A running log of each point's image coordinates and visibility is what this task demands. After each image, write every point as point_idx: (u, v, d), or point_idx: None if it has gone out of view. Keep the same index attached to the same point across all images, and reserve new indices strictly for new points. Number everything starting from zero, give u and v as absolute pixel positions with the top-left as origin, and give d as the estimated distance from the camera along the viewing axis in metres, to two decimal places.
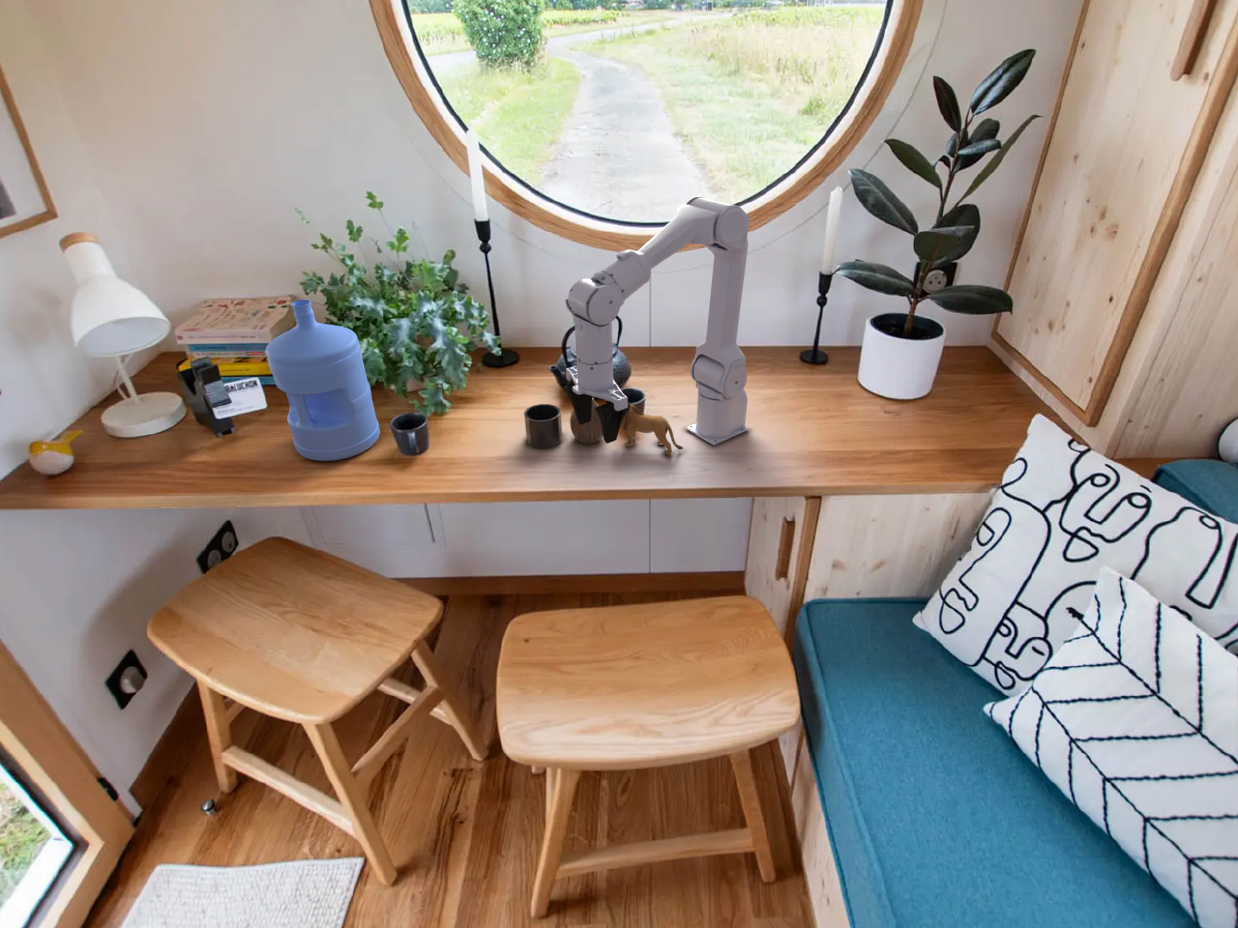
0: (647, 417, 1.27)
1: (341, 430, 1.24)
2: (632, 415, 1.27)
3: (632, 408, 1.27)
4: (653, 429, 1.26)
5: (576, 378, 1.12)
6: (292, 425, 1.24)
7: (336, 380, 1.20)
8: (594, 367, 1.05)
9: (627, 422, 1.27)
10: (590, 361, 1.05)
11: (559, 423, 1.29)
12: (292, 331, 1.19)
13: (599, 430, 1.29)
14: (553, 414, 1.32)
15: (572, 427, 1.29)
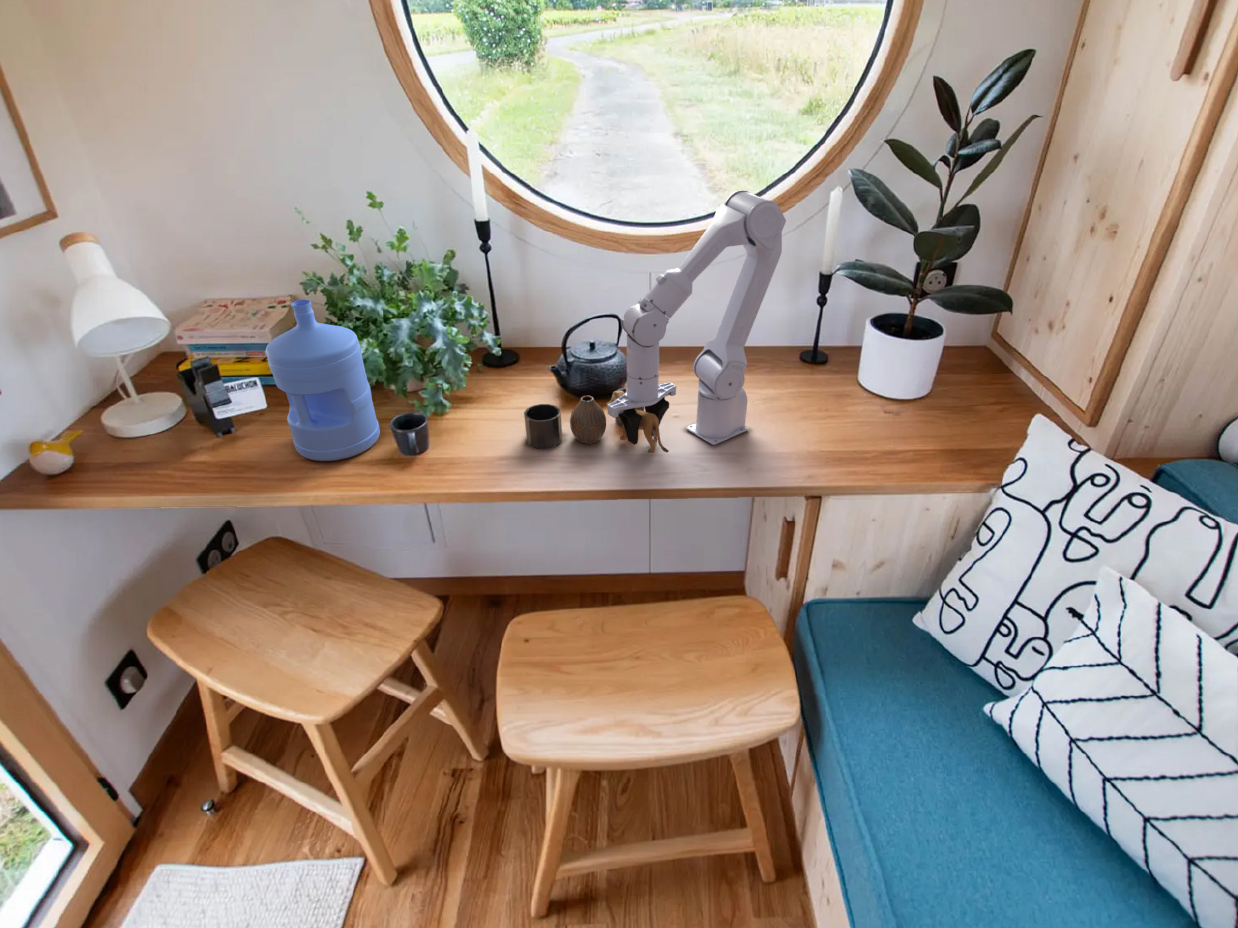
0: (641, 412, 1.27)
1: (341, 430, 1.24)
2: None
3: None
4: (642, 424, 1.26)
5: None
6: (292, 425, 1.24)
7: (336, 380, 1.20)
8: None
9: None
10: (635, 376, 1.19)
11: (559, 423, 1.29)
12: (292, 331, 1.19)
13: (599, 430, 1.29)
14: (553, 414, 1.32)
15: (572, 427, 1.29)
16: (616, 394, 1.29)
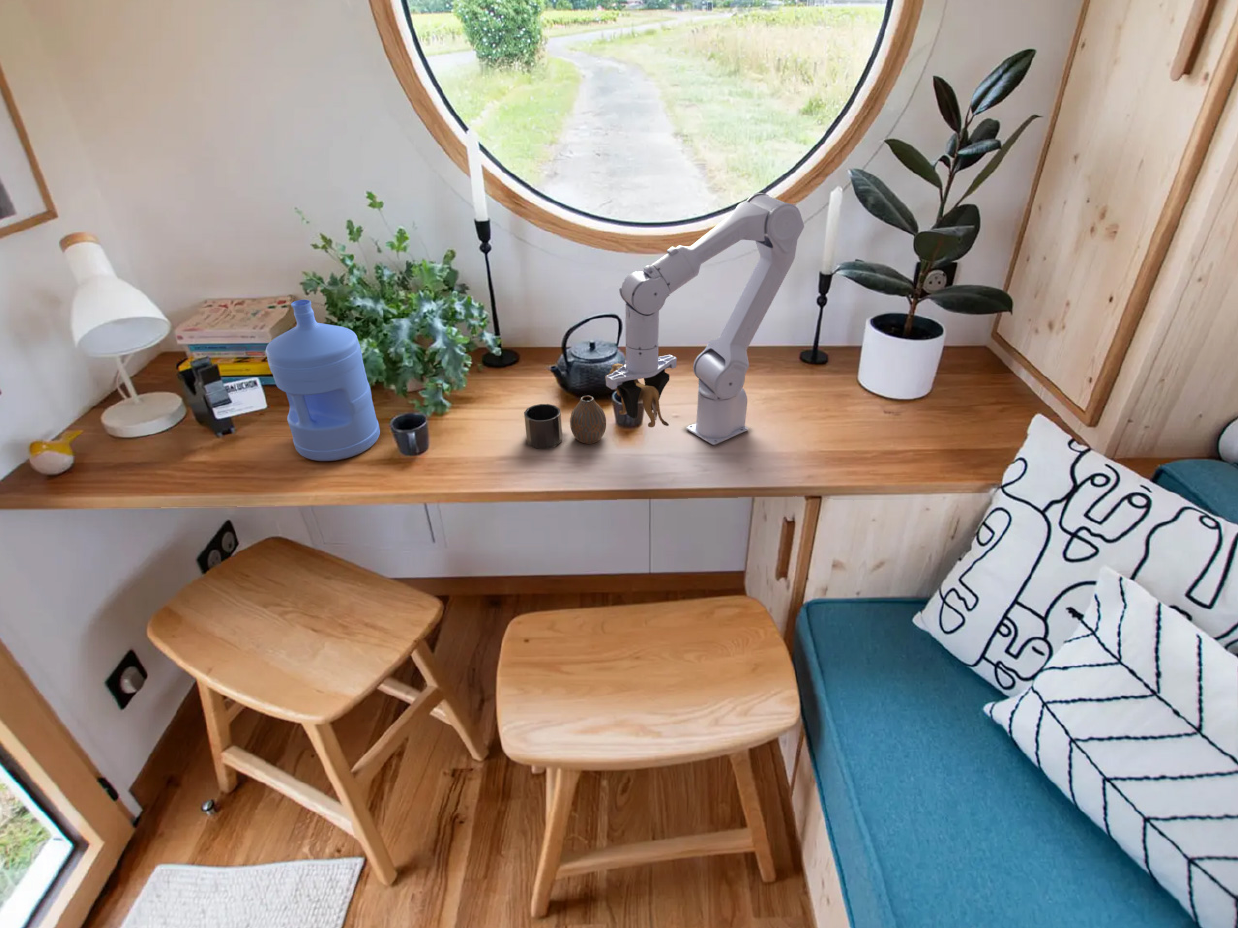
0: (640, 385, 1.24)
1: (341, 430, 1.24)
2: None
3: None
4: (642, 397, 1.22)
5: None
6: (292, 425, 1.24)
7: (336, 380, 1.20)
8: None
9: None
10: (634, 346, 1.16)
11: (559, 423, 1.29)
12: (292, 331, 1.19)
13: (599, 430, 1.29)
14: (553, 414, 1.32)
15: (572, 427, 1.29)
16: (615, 367, 1.26)
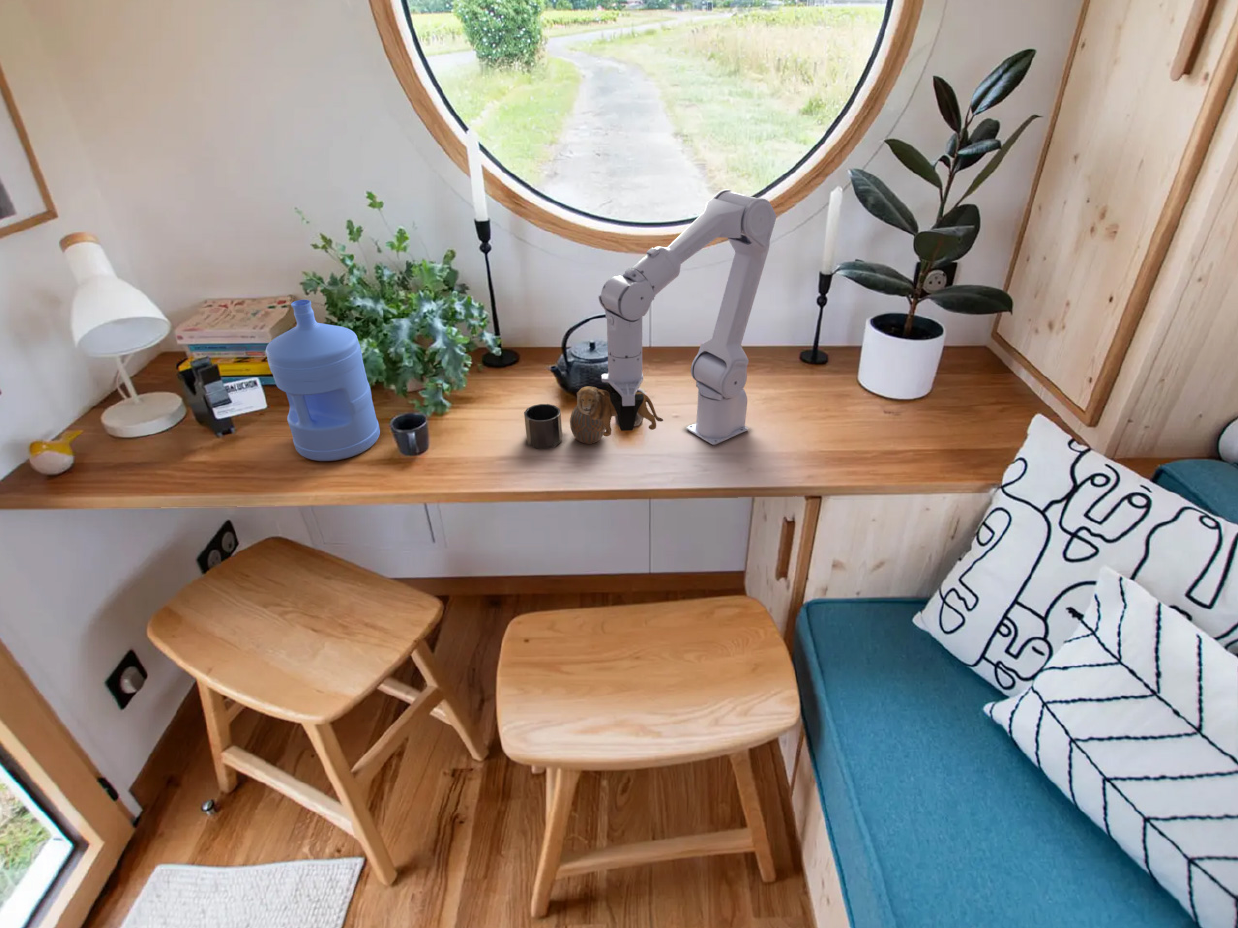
0: None
1: (341, 430, 1.24)
2: (606, 398, 1.16)
3: (603, 392, 1.17)
4: None
5: None
6: (292, 425, 1.24)
7: (336, 380, 1.20)
8: (615, 360, 1.10)
9: (603, 407, 1.16)
10: (620, 355, 1.10)
11: (559, 423, 1.29)
12: (292, 331, 1.19)
13: None
14: (553, 414, 1.32)
15: (572, 427, 1.29)
16: (587, 391, 1.15)
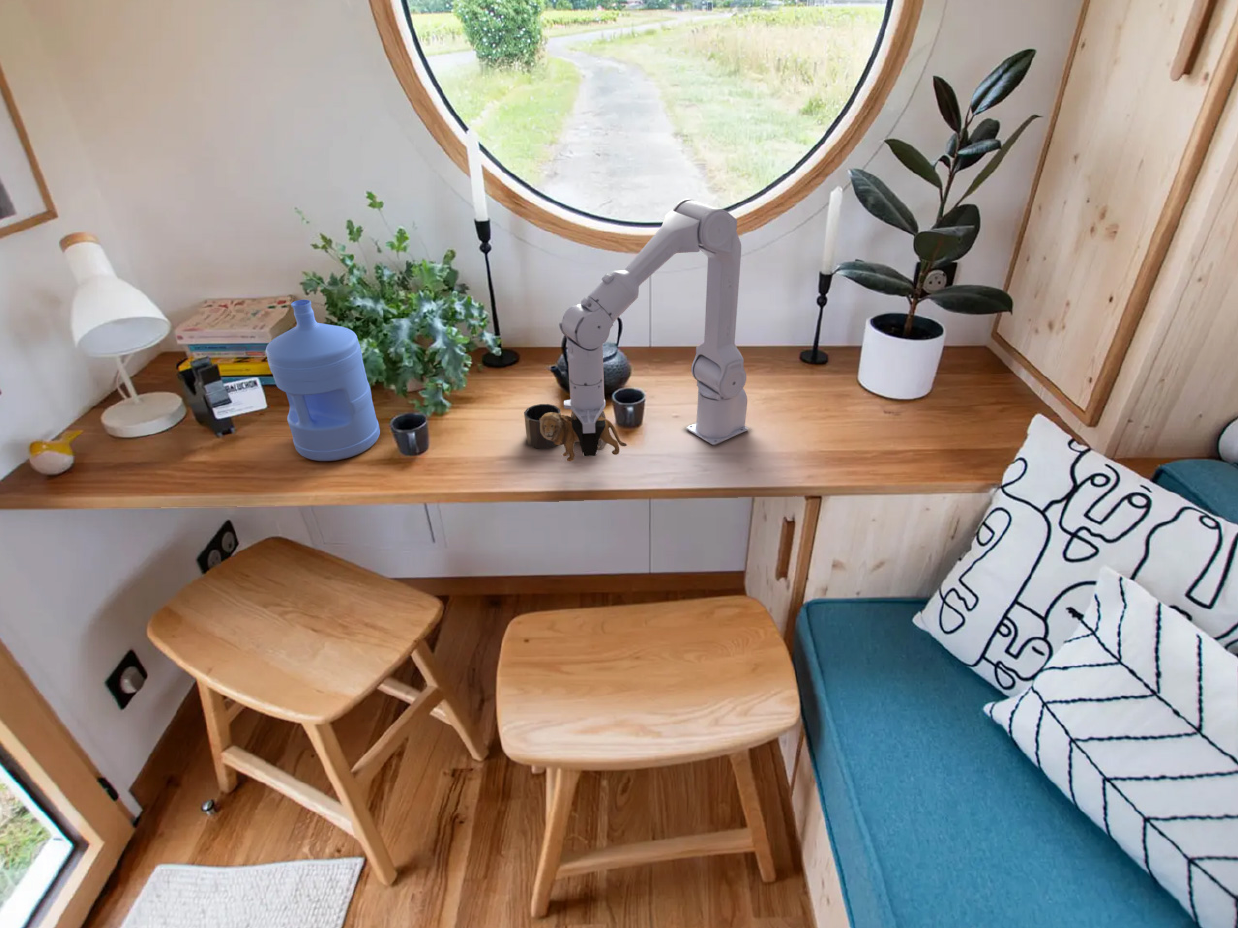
0: None
1: (341, 430, 1.24)
2: (569, 424, 1.17)
3: (566, 417, 1.17)
4: None
5: None
6: (292, 425, 1.24)
7: (336, 380, 1.20)
8: (576, 387, 1.11)
9: (566, 433, 1.17)
10: (580, 382, 1.10)
11: None
12: (292, 331, 1.19)
13: None
14: None
15: None
16: (549, 417, 1.15)
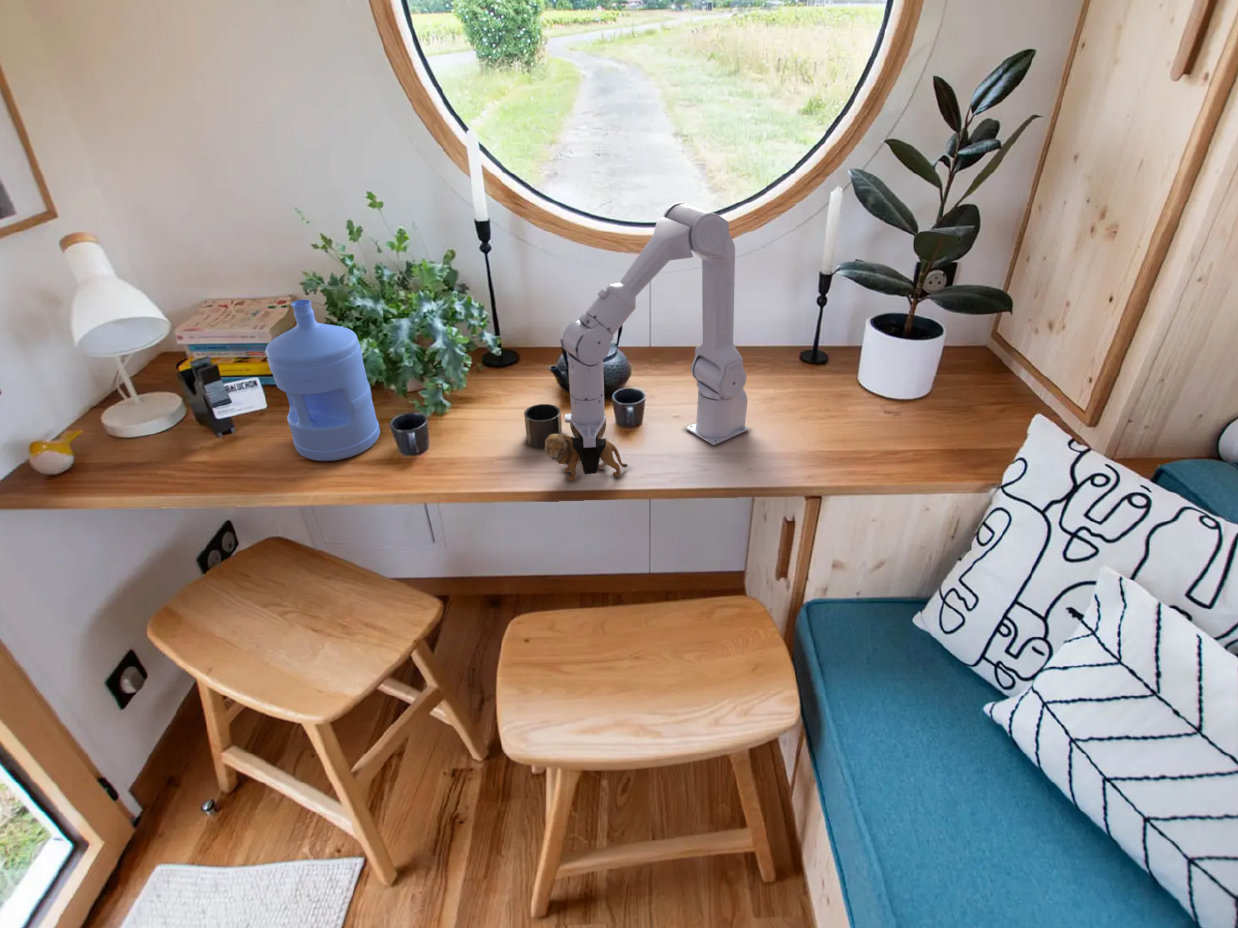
0: None
1: (341, 430, 1.24)
2: None
3: (571, 439, 1.18)
4: None
5: None
6: (292, 425, 1.24)
7: (336, 380, 1.20)
8: (577, 402, 1.13)
9: (570, 455, 1.18)
10: (580, 397, 1.12)
11: (559, 423, 1.29)
12: (292, 331, 1.19)
13: None
14: (553, 414, 1.32)
15: (572, 427, 1.29)
16: (555, 440, 1.16)
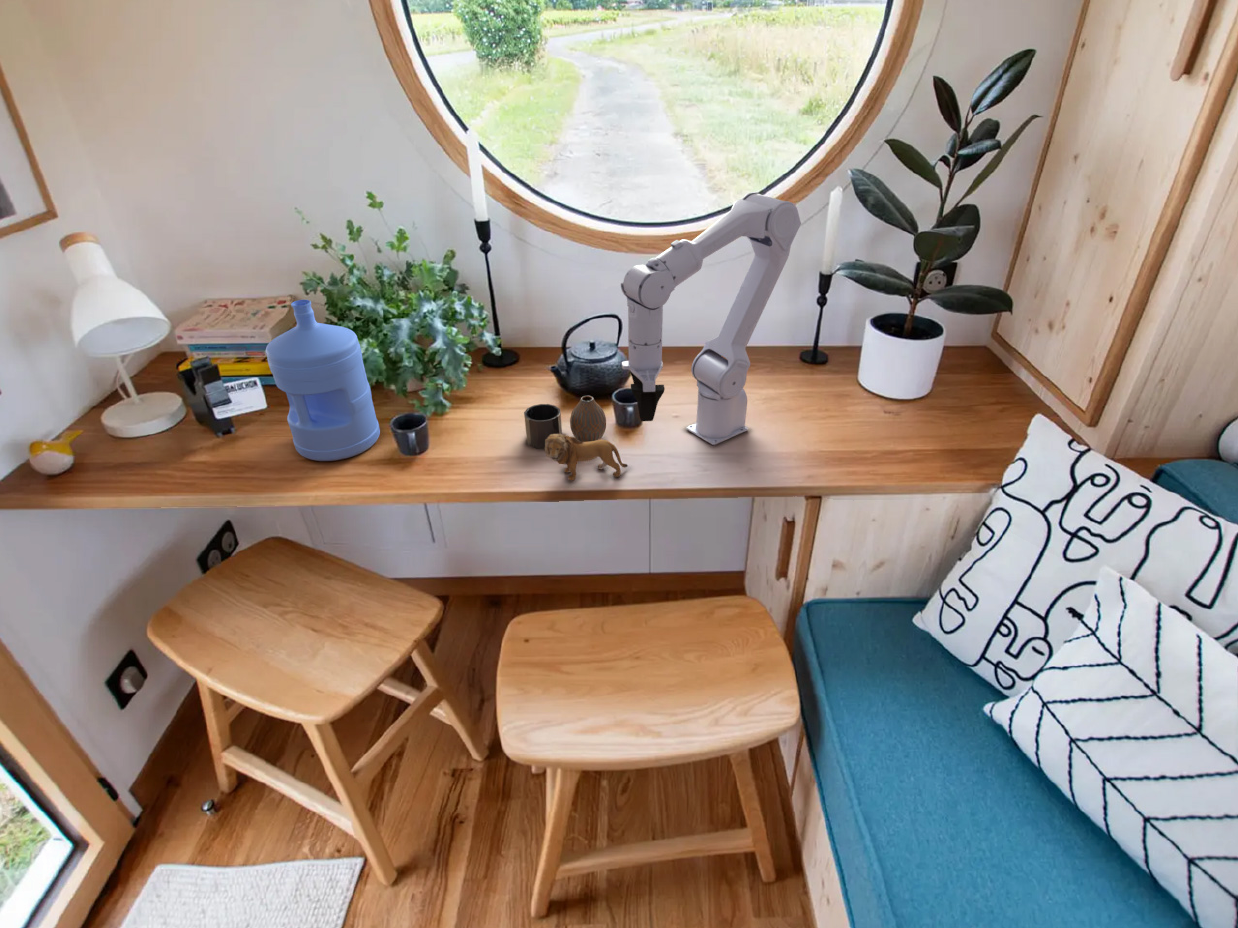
0: (589, 444, 1.19)
1: (341, 430, 1.24)
2: (573, 446, 1.18)
3: (571, 439, 1.18)
4: (599, 454, 1.19)
5: None
6: (292, 425, 1.24)
7: (336, 380, 1.20)
8: (636, 347, 1.13)
9: (570, 455, 1.18)
10: (640, 342, 1.13)
11: (559, 423, 1.29)
12: (292, 331, 1.19)
13: (599, 430, 1.29)
14: (553, 414, 1.32)
15: (572, 427, 1.29)
16: (555, 440, 1.16)
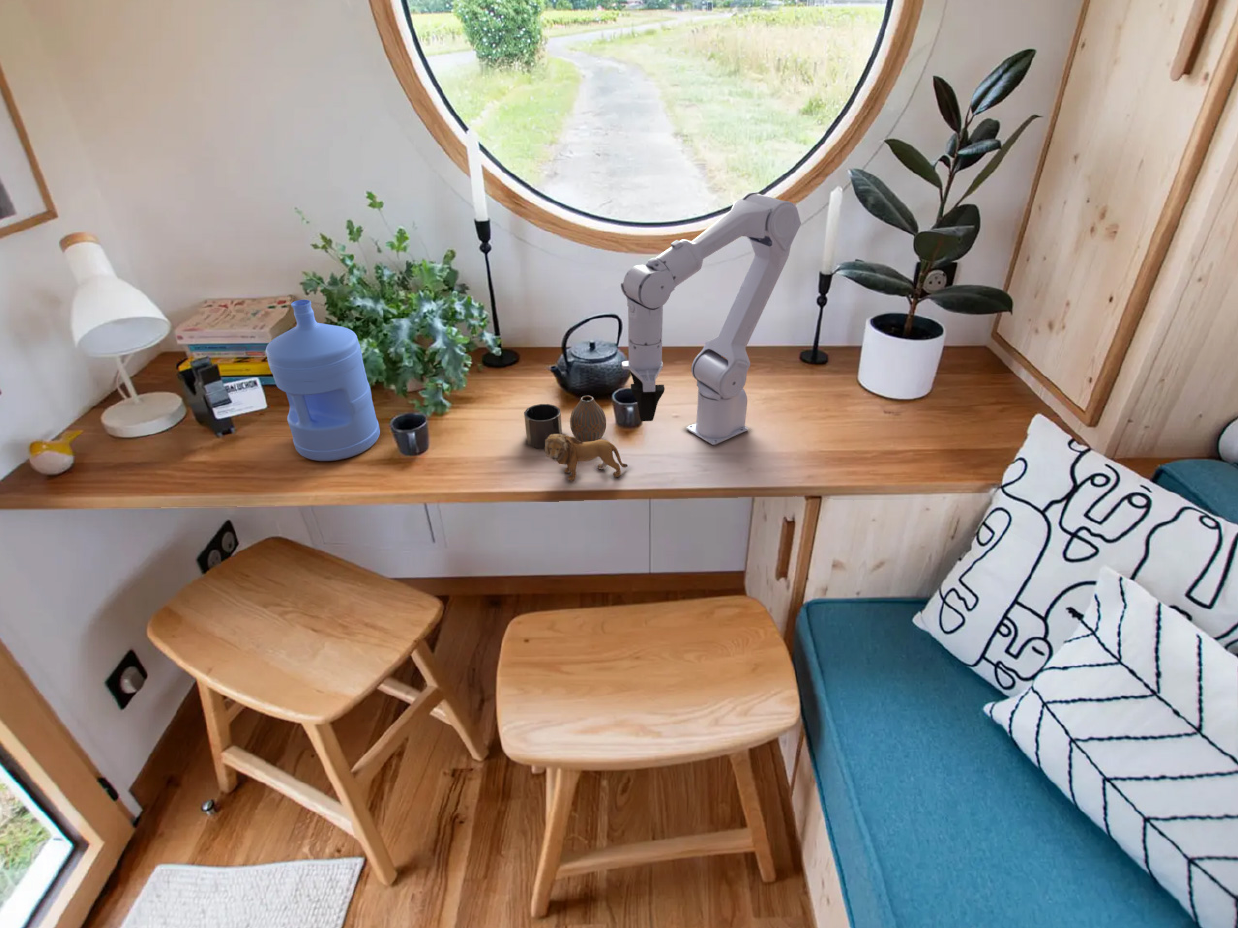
0: (589, 444, 1.19)
1: (341, 430, 1.24)
2: (574, 446, 1.18)
3: (571, 439, 1.18)
4: (599, 454, 1.19)
5: None
6: (292, 425, 1.24)
7: (336, 380, 1.20)
8: (636, 347, 1.13)
9: (570, 455, 1.18)
10: (640, 342, 1.13)
11: (559, 423, 1.29)
12: (292, 331, 1.19)
13: (599, 430, 1.29)
14: (553, 414, 1.32)
15: (572, 427, 1.29)
16: (555, 440, 1.16)
